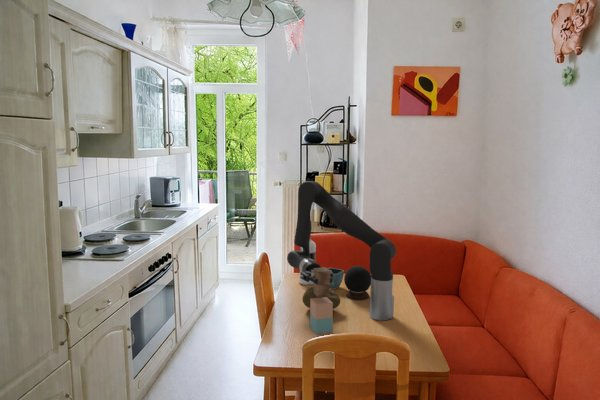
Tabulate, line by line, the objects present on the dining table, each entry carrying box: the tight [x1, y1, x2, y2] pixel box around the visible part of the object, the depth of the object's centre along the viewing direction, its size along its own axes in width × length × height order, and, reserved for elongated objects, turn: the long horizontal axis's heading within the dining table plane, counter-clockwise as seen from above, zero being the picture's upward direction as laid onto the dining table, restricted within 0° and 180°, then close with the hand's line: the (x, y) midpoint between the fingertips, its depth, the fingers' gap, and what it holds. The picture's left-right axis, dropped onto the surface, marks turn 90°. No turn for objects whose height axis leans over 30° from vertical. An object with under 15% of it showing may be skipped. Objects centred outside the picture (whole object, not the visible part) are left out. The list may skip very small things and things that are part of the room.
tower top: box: [309, 297, 334, 319], centre depth 177 cm, size 7×7×6 cm
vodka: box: [298, 236, 317, 286], centre depth 234 cm, size 9×9×30 cm
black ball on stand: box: [343, 265, 371, 301], centre depth 216 cm, size 13×13×15 cm
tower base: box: [309, 312, 334, 335], centre depth 178 cm, size 7×7×6 cm
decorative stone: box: [302, 285, 341, 310], centre depth 198 cm, size 17×11×10 cm, turn 79°
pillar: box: [312, 266, 331, 297], centre depth 176 cm, size 5×5×10 cm
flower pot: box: [327, 267, 345, 290], centre depth 228 cm, size 9×9×9 cm
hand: (324, 281), depth 173 cm, fingers closed on pillar, 5 cm apart
